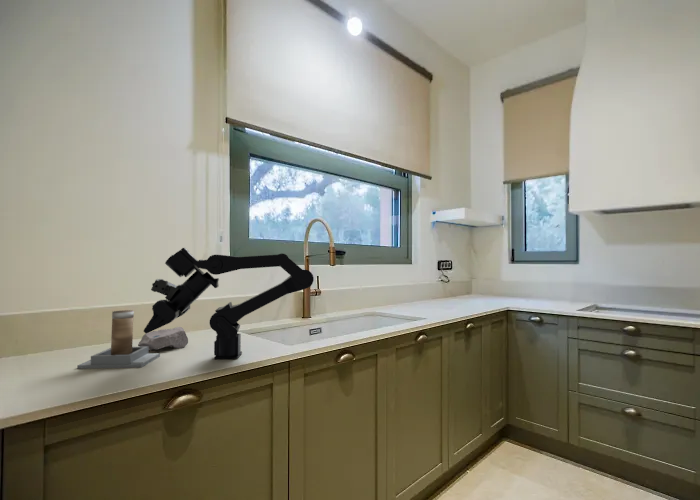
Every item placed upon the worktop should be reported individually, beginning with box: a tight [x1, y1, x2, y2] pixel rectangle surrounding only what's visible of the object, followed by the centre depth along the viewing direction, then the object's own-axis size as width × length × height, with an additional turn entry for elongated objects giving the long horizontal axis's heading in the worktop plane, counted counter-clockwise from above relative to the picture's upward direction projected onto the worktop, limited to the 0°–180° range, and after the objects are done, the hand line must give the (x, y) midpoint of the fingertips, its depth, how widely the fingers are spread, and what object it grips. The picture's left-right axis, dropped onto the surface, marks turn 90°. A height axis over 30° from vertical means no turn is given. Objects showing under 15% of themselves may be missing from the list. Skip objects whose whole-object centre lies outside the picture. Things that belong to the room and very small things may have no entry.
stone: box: [137, 326, 189, 351], centre depth 118 cm, size 13×10×6 cm
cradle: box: [76, 346, 161, 370], centre depth 102 cm, size 16×11×3 cm
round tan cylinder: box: [110, 309, 135, 355], centre depth 102 cm, size 5×5×13 cm
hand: (150, 329), depth 104 cm, fingers open, 9 cm apart
